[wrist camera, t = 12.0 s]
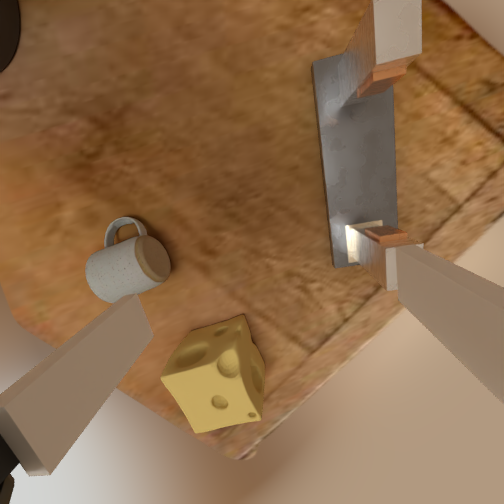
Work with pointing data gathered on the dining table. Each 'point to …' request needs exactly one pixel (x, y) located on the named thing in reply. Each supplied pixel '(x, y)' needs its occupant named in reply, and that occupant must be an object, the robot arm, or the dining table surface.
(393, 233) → the loose carton
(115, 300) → the ceramic mug
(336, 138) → the rail
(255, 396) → the cheese
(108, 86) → the dining table surface
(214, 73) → the dining table surface
